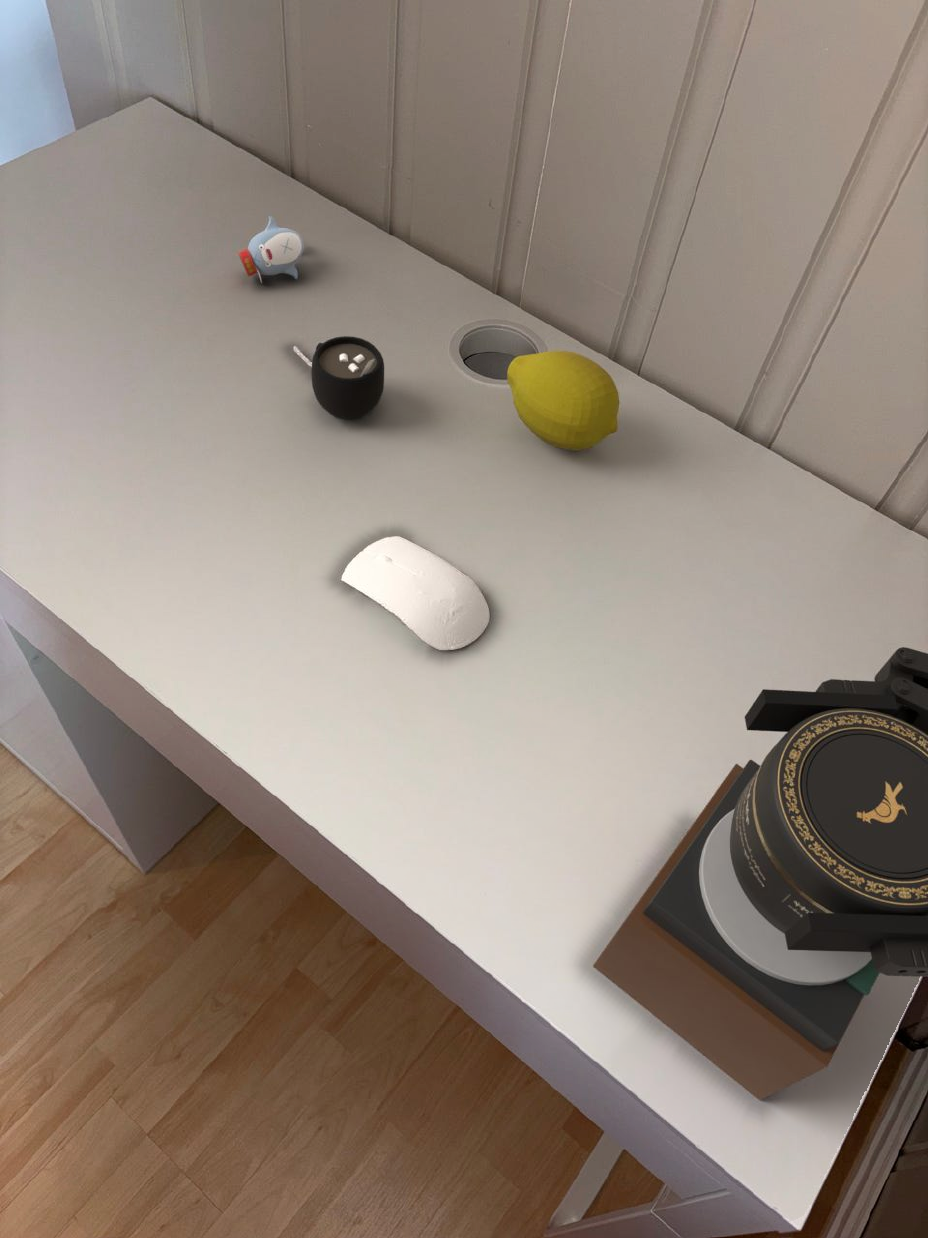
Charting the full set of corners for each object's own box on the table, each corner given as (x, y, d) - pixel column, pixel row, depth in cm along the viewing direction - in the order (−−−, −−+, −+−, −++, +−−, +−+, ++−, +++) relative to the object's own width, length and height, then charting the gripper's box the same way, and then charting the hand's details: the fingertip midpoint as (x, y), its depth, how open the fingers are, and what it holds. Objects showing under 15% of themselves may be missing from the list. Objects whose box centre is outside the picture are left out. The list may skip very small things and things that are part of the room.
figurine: (295, 238, 100) (325, 253, 98) (240, 286, 98) (270, 303, 96) (279, 196, 95) (310, 212, 94) (221, 246, 93) (252, 263, 92)
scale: (847, 942, 63) (942, 873, 53) (759, 1101, 57) (848, 1057, 47) (689, 828, 67) (750, 742, 57) (592, 966, 61) (640, 898, 51)
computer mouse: (391, 528, 80) (392, 509, 78) (504, 613, 76) (508, 595, 74) (331, 576, 76) (331, 557, 74) (447, 666, 73) (449, 650, 71)
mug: (398, 412, 87) (402, 346, 81) (341, 441, 85) (340, 375, 79) (321, 338, 92) (318, 270, 86) (264, 363, 89) (257, 295, 83)
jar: (931, 828, 51) (1011, 762, 45) (889, 1003, 46) (973, 957, 40) (751, 743, 53) (804, 669, 47) (691, 901, 48) (741, 842, 42)
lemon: (630, 444, 88) (652, 375, 81) (574, 487, 84) (593, 419, 78) (541, 381, 91) (555, 310, 85) (483, 419, 88) (494, 349, 81)
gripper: (1287, 1109, 43) (792, 1101, 41) (1096, 668, 56) (713, 649, 54) (1444, 1077, 36) (868, 1067, 35) (1188, 590, 49) (759, 565, 48)
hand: (774, 813), depth 44 cm, fingers closed on jar, 10 cm apart
